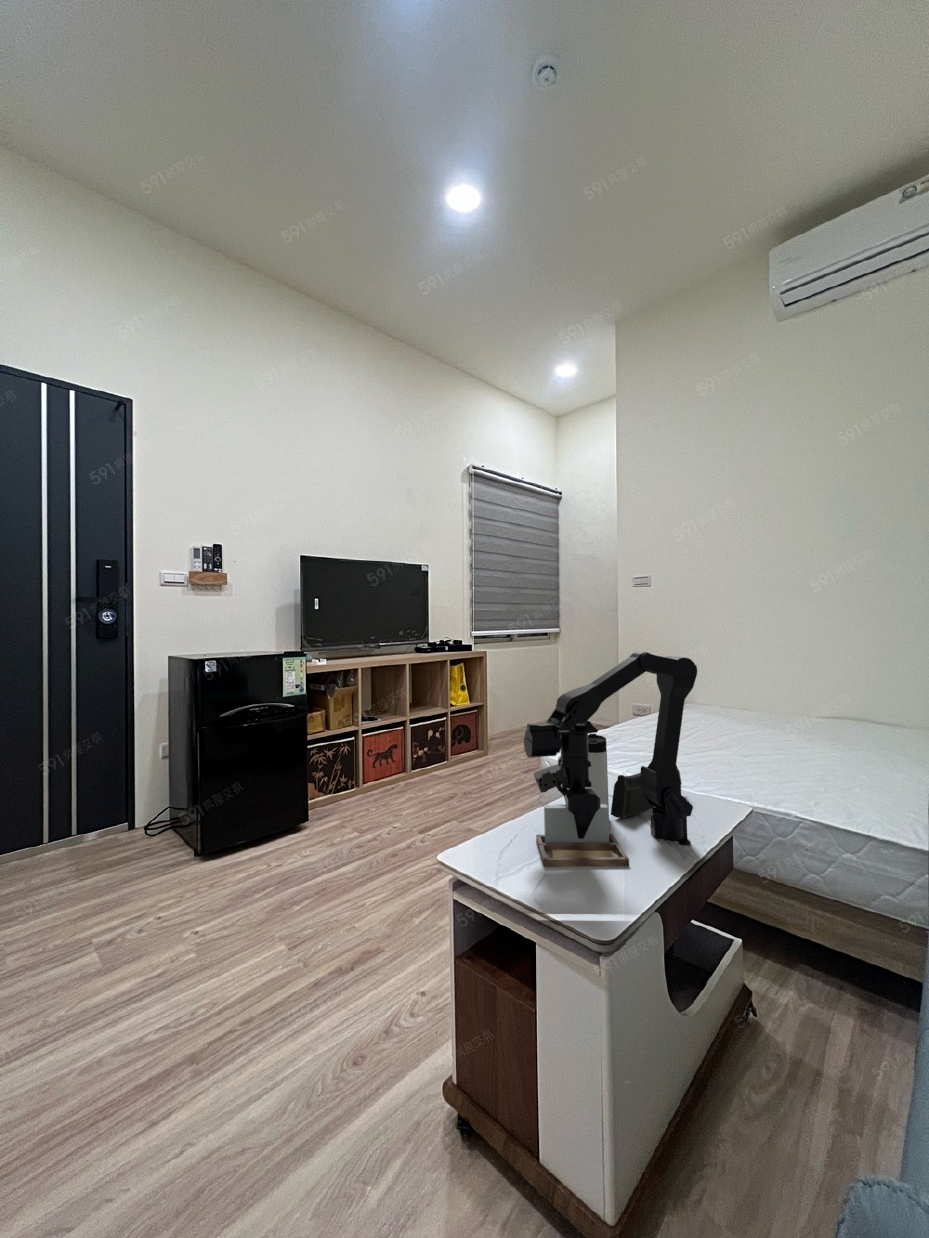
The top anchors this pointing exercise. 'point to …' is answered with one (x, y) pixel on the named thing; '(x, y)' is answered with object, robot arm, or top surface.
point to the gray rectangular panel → (574, 826)
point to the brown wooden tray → (582, 862)
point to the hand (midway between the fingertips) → (576, 829)
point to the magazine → (629, 797)
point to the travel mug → (598, 767)
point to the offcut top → (581, 854)
